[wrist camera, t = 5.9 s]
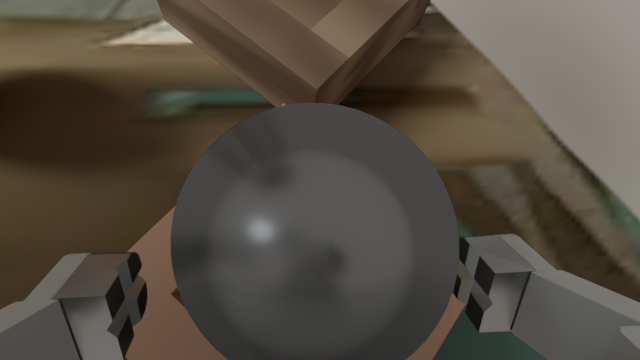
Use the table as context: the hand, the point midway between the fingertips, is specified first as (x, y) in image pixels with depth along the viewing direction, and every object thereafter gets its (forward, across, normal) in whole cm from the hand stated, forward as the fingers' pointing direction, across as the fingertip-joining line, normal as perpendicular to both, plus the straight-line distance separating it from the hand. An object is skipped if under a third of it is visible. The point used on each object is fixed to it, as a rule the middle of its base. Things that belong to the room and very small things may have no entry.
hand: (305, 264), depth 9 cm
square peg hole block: (+16, -1, -6) cm, 17 cm away
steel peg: (+5, 0, +5) cm, 7 cm away
